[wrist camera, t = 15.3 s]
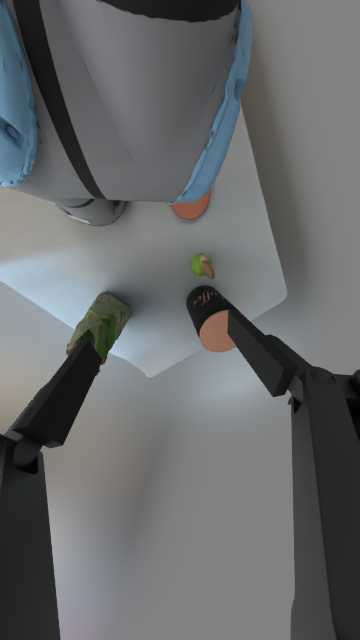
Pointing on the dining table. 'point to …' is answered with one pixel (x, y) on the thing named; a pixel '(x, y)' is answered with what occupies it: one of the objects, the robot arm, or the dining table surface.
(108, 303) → the pouch
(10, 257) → the dining table surface
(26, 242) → the dining table surface
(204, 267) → the snail figurine
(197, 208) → the terracotta coaster
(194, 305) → the coffee jar
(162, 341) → the dining table surface
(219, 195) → the dining table surface
